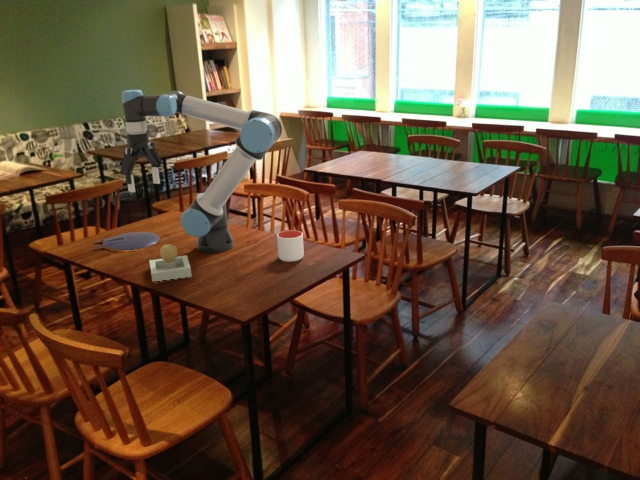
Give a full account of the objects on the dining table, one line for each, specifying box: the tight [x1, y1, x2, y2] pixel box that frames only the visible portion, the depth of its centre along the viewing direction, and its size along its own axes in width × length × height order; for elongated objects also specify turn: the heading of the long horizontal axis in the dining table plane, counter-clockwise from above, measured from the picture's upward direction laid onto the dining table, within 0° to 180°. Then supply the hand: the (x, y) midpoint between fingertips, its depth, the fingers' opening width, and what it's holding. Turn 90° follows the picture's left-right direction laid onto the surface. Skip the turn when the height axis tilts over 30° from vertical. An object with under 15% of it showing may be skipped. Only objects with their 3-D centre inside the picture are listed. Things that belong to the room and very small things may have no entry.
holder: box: [149, 255, 193, 282], centre depth 219 cm, size 14×14×4 cm
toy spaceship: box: [91, 231, 161, 250], centre depth 253 cm, size 28×24×3 cm
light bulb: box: [159, 243, 179, 270], centre depth 218 cm, size 6×6×10 cm
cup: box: [276, 229, 305, 263], centre depth 228 cm, size 10×10×10 cm
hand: (144, 187), depth 226 cm, fingers open, 13 cm apart
